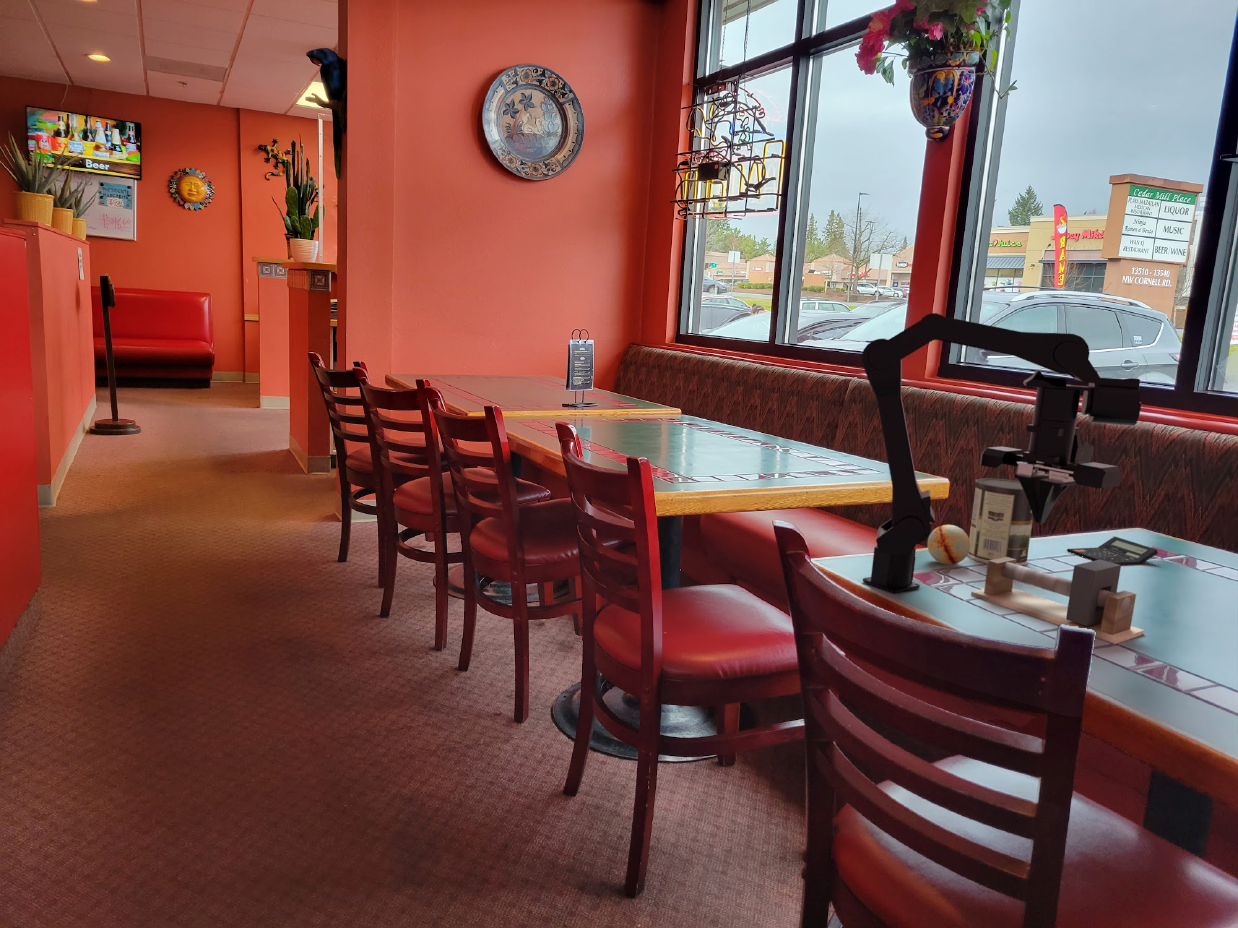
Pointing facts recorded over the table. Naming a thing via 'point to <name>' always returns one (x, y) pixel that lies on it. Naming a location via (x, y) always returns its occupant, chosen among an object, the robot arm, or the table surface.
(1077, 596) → the grey sliding block
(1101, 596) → the pipe stand
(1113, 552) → the calculator
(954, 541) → the ball
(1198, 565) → the table surface
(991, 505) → the coffee can
